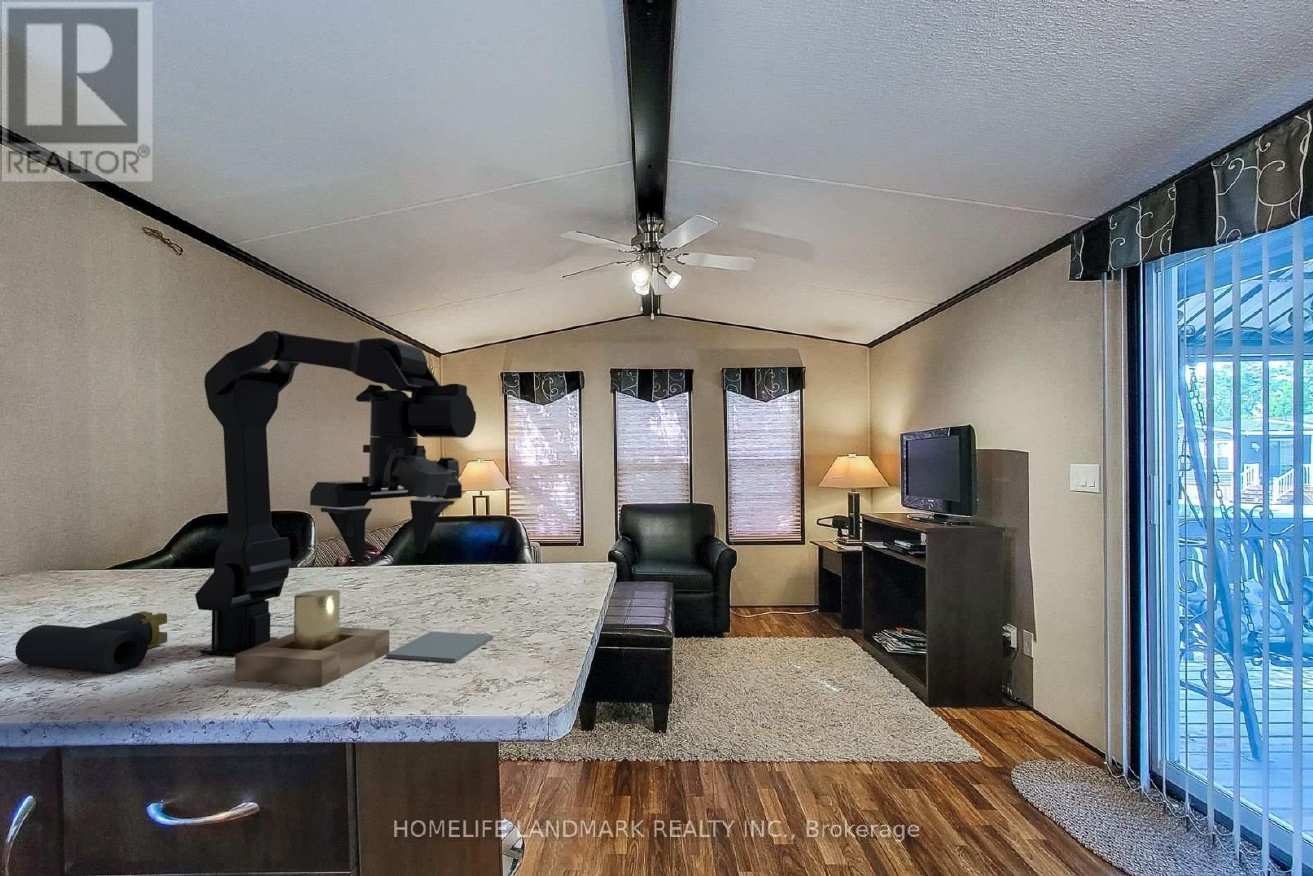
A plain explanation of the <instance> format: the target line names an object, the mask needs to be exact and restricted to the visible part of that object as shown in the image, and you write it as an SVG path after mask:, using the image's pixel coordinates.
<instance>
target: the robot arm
mask: <svg viewBox="0 0 1313 876" xmlns="http://www.w3.org/2000/svg"><path fill="white" fill-rule="evenodd" d="M271 361H274V362H275V361H276V363H275V364H274V365H272V367H271V368H268V367H264V366H265V365H267V364H268V363H270V362H271ZM300 364H306V365H312V366H318V367H325V368H331V369H338V370H344V371H348V372H350V373H352V374H354V375H355V376H358V377H361V378H362V379H365V380H368V381H370V382H374V383H377V384H382V385H386V386H387V387H389V388H390V389H384V387H383V386H382V385H377V384H368V386H367V387H366V388H365V390H363V391H361V392H360V393H359V394H358V395H356V396H355V400H356V402H359V403H368V404H370V422H369V423H370V425H369V427H370V429H369V436H370V437H369V444H363V445H362V453H365V454H366V453H367V454H369V456H368V457H369V460H368V461H369V463H368V464H369V465H368V476H362V477H361V478H362V479H361V480H362V481H353V480H351V481H349V480H336V481H334V480H333V481H317V482H316V483H315V484H314V486H312V489H311V490H310V493H309V506H317V507H320V512H321V513H327V514H328V515H329V517H330V519H331V520H332V522H333V523H334V525H335V526H336V528H337V530H338V531H339V534H340V535H341V537H342V539H343V541H344V544H345V545H346V547H347V550H348V552H349V554H350V555H351V558H352V561H353V562H354V563H355V564H356V565H357V564H358V565H361V564H363V563H364V558H365V549H366V547H365V546H366V544H365V543H366V521H367V520H368V517H369V515H370V514H371V513H372V510H373V508H372V507H370V508H369V507H365V506H366V505H367V504H368V503H369V502H370V500H382V499H383V500H384V499H394V498H395V499H396V498H398V499H399V498H408V497H409V498H410V497H415V498H417V499H412V500H410V501H409V502H410V512H411V521H412V529H413V530H412V531H413V540H414V545H415V550H416V553H418V554H424V553H425V551H426V549H427V546H428V543H429V541H430V538H431V536H432V534H433V531H434V528H435V526H436V523H437V521H438V519H439V517H440V515H441V513H442V512H443V511H445V510H446V509H447V508H448V507H449V506H452V505H454V503H455V500H451V499H462V493H463V492H462V491H463V487H462V486H463V485H462V483H461V482H460V480H459V479H458V478H459V476H460V466H459V465H460V464H459V462H460V461H459V460H458V459H456V458H455V457H451V456H450V457H449V456H448V457H446V456H445V457H444V456H443V457H440V458H439V459H438V460H430V459H427V456H426V453H427V450H426V448H425V445H418V442H419V441H418V440H419V436H420V437H422V438H429V439H430V438H440V439H441V438H445V439H446V438H447V439H451V438H452V439H458V438H460V439H463V438H464V439H465V438H468V437H469V436H470V435H471V434H472V433H473V432H474V429H475V425H476V421H477V420H476V419H477V411H475V408H474V407H475V406H474V403H473V401H472V399H471V398H470V395H468V386H467V385H465V384H460V383H449V384H445V385H441V384H440V383H439V381H438V380H437V378H436V376H435V375H434V374H433V372H432V371H431V369H430V367H429V366H428V361H427V358H426V355H425V353H424V350H423V349H422V348H420V347H418V346H415V345H411V344H407V343H404V342H399V341H397V340H393V339H389V338H386V337H376V338H375V337H373V338H362V339H359V340H356V341H349V342H346V341H340V340H334V339H333V340H331V339H325V338H318V337H311V336H304V335H298V334H297V335H296V334H292V333H286V332H283V331H279V330H268V331H264V332H263V333H261V334H260V335H259V336H257V338H256V339H254V341H252V342H249V343H247V344H245V345H242V346H240V347H239V348H236V349H233V350H231V351H229V352H227V353H226V354H224V356H222V357H221V358H220V360H218V361H217V362H216V363H215V364H214V365H213V366H212V367H211V368H210V369H209V370H208V371H207V372H206V373H205V376H204V382H203V384H204V391H205V396H206V402H207V406H208V408H209V410H210V411H211V412H212V414H213V416H214V417H215V418H216V420H217V421H218V423H219V424H220V425H221V426H222V429H223V447H224V448H223V449H224V450H223V452H224V468H225V485H226V486H225V487H226V488H225V489H226V490H225V491H226V492H225V493H226V506H227V507H226V508H227V511H226V513H227V528H228V529H227V533H226V534H225V536H224V538H223V540H222V542H221V543H220V545H218V546H219V547H218V548H217V550H216V551H215V555H214V564H213V565H214V567H213V573H211V575H210V576H209V577H208V579H207V580H206V581H205V582H204V583H203V584H202V586H200V588H199V589H198V590H197V592H196V593H195V595H194V597H195V601H196V604H197V605H196V606H197V609H198V610H201V611H211V645H209V646H206V647H203V648H201V649H200V653H201V654H209V655H210V654H213V655H225V656H226V655H227V656H235V654H237V653H240V652H243V651H245V650H248V649H251V648H254V647H256V646H259V645H262V644H264V643H267V642H270V641H273V640H275V639H278V638H279V637H275V636H274V637H273V636H271V612H270V611H269V610H270V609H269V608H270V606H269V605H270V602H269V600H268V599H270V600H271V599H273V598H279V597H280V596H281V594H282V591H283V587H284V584H285V581H286V579H288V576H289V572H290V567H291V566H293V562H292V559H291V541H290V538H289V537H288V536H285V537H284V536H283V537H280V536H279V534H278V533H277V532H276V531H275V529H274V527H273V525H272V512H271V511H272V510H271V508H272V507H271V494H270V490H271V489H270V476H269V475H270V474H269V473H270V472H269V470H270V469H269V455H268V453H269V452H268V435H267V434H268V433H267V427H268V424H269V423H270V422H271V419H272V418H273V417H274V414H275V413H276V411H277V409H278V408H279V406H278V405H279V395H280V392H282V391H283V390H284V389H285V388H286V387H287V386H288V385H290V383H292V380H293V378H294V374H295V370H296V368H297V367H298V365H300ZM406 392H407V393H411V396H409V395H408V394H407V393H406ZM399 487H400V488H399Z"/></svg>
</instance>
